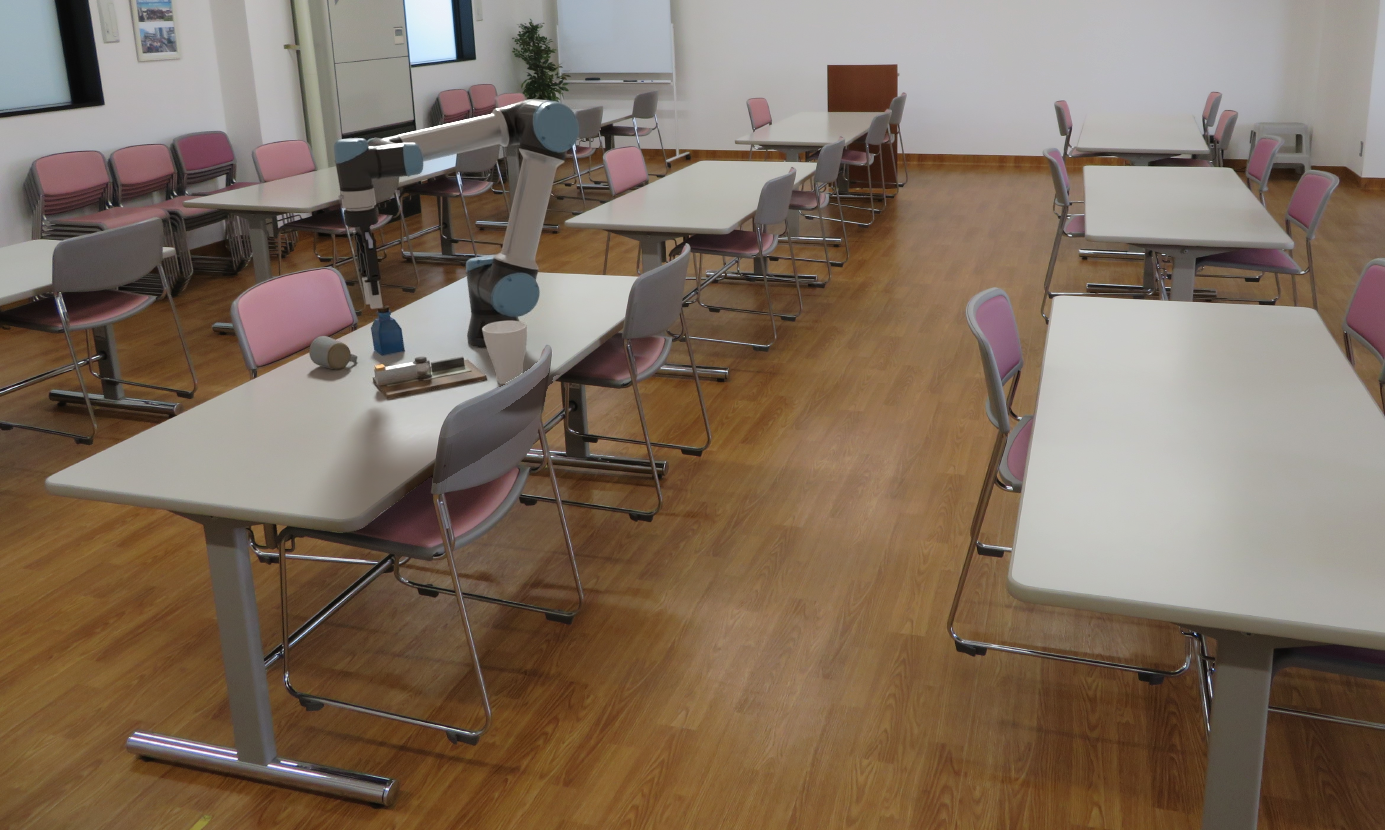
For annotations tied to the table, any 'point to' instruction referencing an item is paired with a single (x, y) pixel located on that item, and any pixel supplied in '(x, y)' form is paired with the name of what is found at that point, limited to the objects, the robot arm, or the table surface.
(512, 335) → the cup
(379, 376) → the swing bar
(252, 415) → the table surface
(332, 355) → the ceramic mug
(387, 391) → the lock board
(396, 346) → the perfume bottle
